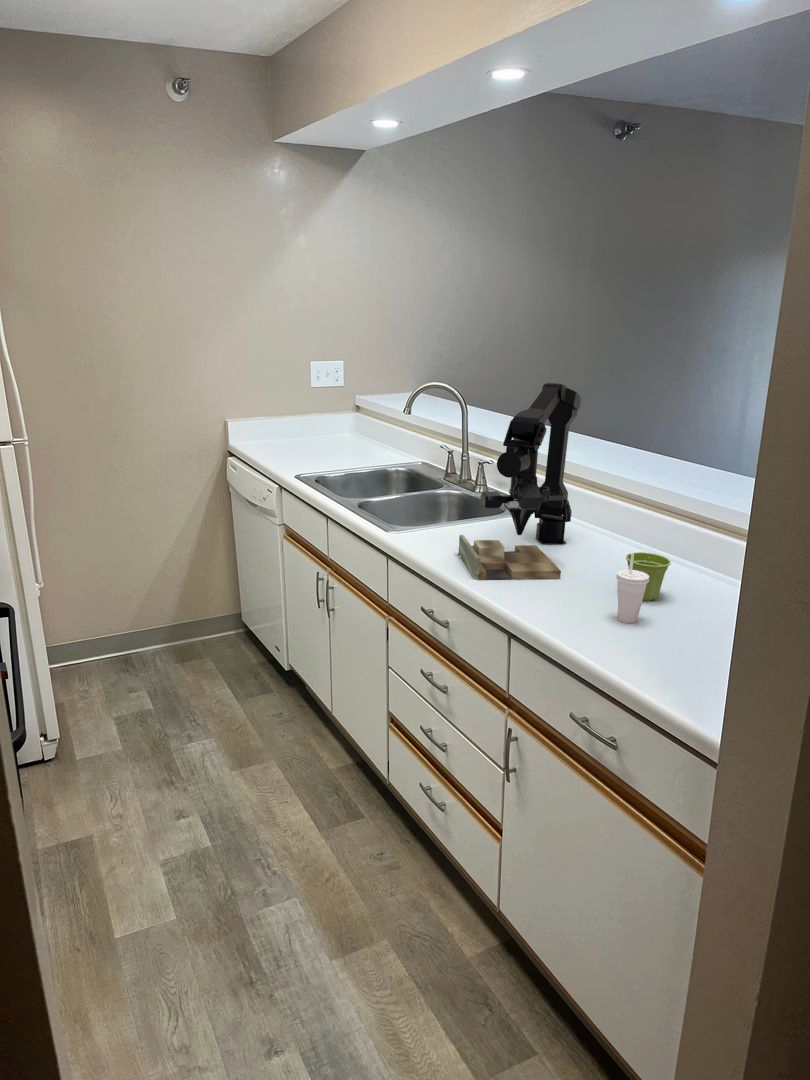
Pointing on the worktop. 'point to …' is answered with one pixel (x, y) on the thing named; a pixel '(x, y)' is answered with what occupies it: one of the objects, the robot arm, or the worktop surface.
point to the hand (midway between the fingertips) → (519, 534)
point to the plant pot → (650, 571)
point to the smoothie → (630, 593)
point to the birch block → (489, 550)
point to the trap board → (509, 564)
